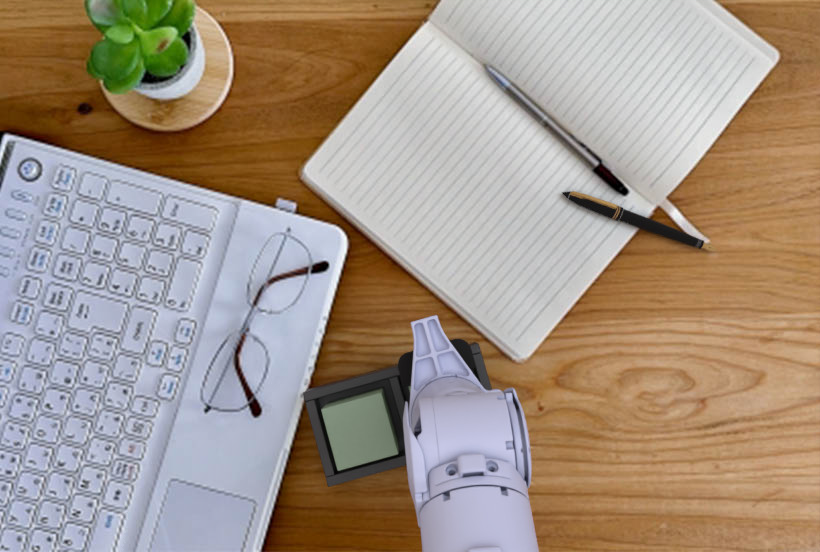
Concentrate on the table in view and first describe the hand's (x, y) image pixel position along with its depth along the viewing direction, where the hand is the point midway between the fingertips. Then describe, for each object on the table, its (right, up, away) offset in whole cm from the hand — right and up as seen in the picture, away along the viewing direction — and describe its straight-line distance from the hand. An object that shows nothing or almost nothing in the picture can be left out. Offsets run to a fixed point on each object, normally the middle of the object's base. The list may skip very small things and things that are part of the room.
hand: (445, 403), depth 67 cm
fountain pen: (+17, +15, +4) cm, 23 cm away
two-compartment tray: (-3, -1, +4) cm, 5 cm away
